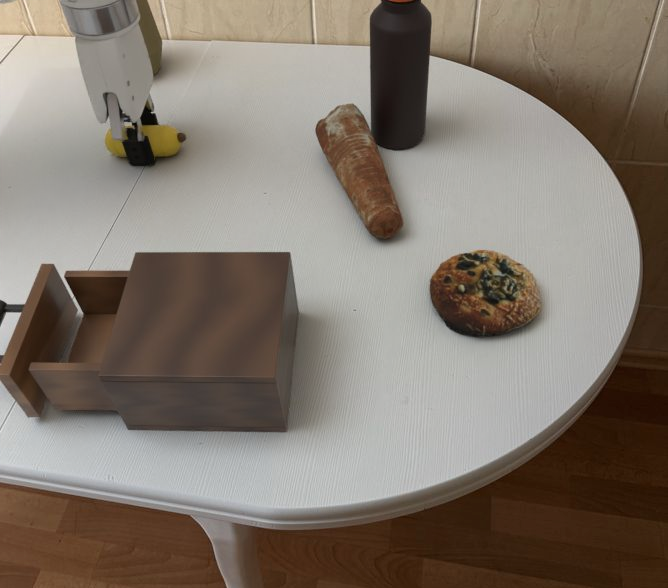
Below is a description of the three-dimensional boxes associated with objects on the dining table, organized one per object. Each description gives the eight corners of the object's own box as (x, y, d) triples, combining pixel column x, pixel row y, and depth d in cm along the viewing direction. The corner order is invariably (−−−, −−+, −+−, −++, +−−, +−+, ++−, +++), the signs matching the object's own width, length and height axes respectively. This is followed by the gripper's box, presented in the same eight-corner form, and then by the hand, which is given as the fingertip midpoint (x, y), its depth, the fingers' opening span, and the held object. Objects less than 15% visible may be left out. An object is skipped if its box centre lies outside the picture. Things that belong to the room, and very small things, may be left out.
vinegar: (421, 153, 86) (431, -14, 70) (366, 148, 87) (363, -16, 71) (427, 119, 90) (438, -45, 74) (375, 115, 91) (374, -47, 75)
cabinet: (127, 429, 64) (97, 375, 57) (158, 311, 72) (135, 251, 66) (286, 432, 63) (275, 377, 56) (298, 311, 71) (290, 251, 65)
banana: (106, 163, 88) (97, 138, 85) (113, 144, 90) (104, 119, 87) (187, 162, 87) (180, 137, 84) (192, 143, 89) (186, 118, 86)
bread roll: (418, 329, 69) (424, 290, 65) (437, 260, 76) (443, 222, 73) (532, 353, 67) (545, 314, 63) (540, 280, 74) (552, 242, 71)
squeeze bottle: (176, 56, 102) (143, -79, 88) (156, 88, 97) (117, -49, 83) (125, 52, 103) (84, -82, 89) (102, 83, 99) (55, -53, 84)
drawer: (-25, 416, 65) (-62, 374, 59) (19, 309, 72) (-10, 263, 67) (172, 419, 63) (153, 376, 58) (196, 310, 71) (181, 263, 66)
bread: (364, 137, 88) (363, 97, 84) (410, 239, 77) (412, 200, 72) (315, 146, 87) (312, 107, 83) (354, 251, 76) (353, 212, 72)
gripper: (86, -28, 79) (132, 113, 94) (42, 52, 69) (101, 197, 84) (152, -30, 79) (187, 112, 93) (117, 51, 69) (163, 196, 83)
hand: (146, 151), depth 88 cm, fingers closed on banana, 3 cm apart
